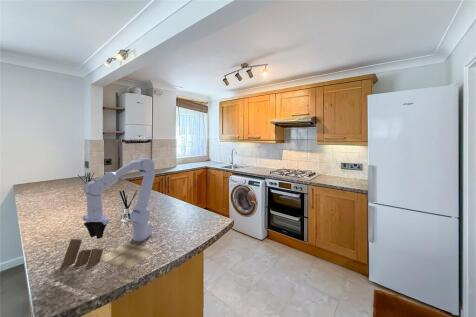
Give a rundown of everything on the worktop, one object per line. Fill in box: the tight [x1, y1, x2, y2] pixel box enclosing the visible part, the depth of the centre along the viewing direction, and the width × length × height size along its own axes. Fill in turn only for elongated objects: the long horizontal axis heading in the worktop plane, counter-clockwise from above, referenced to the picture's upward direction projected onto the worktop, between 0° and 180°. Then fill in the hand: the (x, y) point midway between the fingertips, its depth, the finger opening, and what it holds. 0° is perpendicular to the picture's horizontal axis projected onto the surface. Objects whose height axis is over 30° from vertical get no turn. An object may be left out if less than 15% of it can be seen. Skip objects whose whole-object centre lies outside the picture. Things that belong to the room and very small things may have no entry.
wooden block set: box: [61, 238, 104, 267], centre depth 93 cm, size 18×9×10 cm, turn 75°
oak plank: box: [99, 242, 138, 264], centre depth 100 cm, size 16×7×1 cm, turn 159°
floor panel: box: [107, 245, 158, 270], centre depth 96 cm, size 16×12×1 cm
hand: (96, 237), depth 97 cm, fingers open, 4 cm apart
